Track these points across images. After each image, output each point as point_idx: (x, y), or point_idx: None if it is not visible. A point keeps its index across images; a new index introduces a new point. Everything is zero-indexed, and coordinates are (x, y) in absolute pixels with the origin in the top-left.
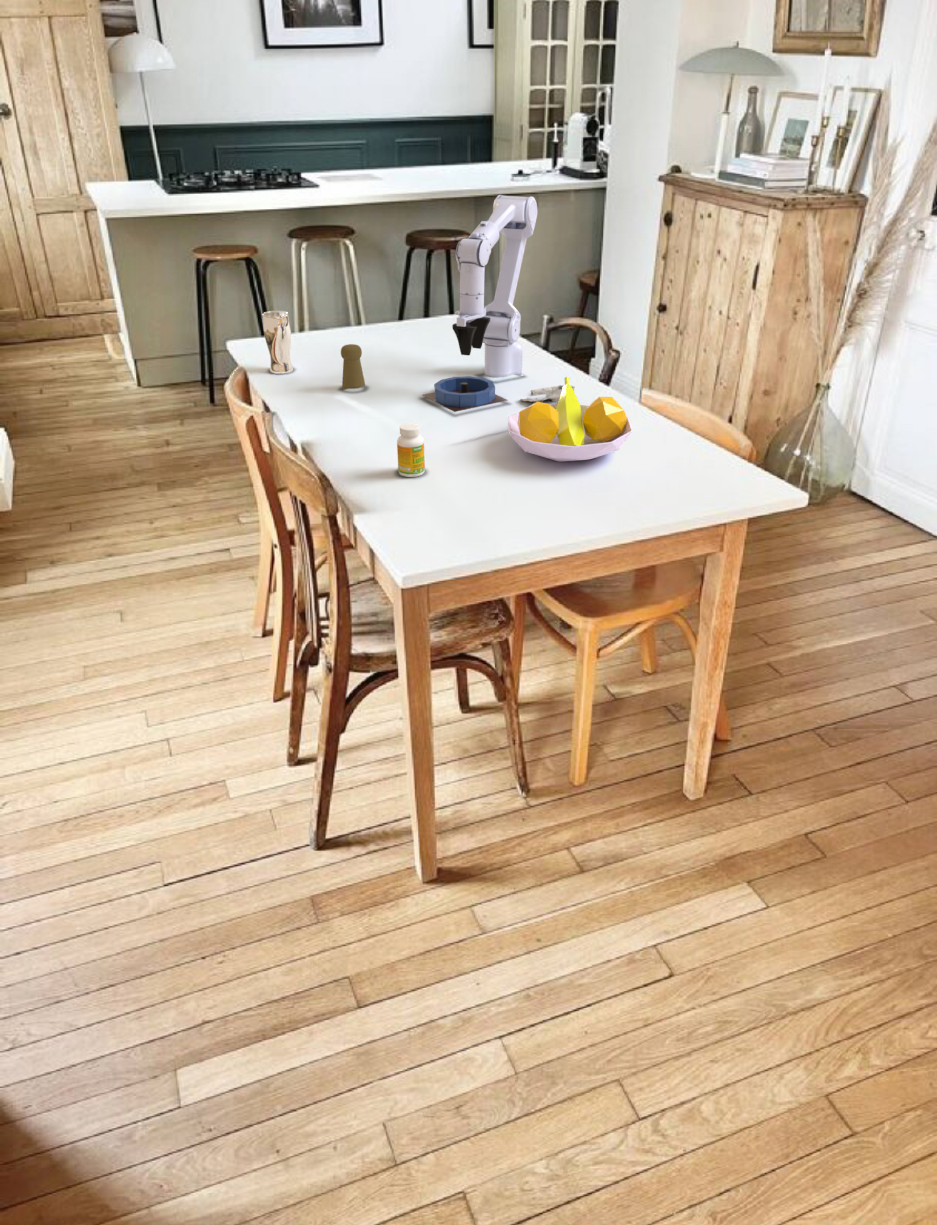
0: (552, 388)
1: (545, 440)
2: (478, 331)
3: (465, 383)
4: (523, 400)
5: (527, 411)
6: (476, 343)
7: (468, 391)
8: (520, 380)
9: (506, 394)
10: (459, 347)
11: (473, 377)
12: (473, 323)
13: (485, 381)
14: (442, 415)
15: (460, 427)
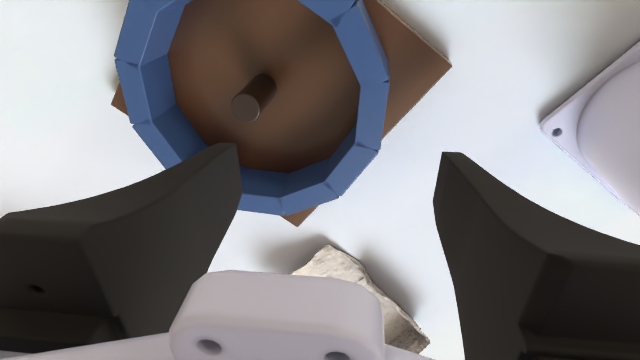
0: (412, 324)
1: None
2: (467, 273)
3: (245, 113)
4: (306, 265)
5: None
6: (442, 196)
7: (340, 77)
8: (582, 206)
9: (395, 195)
10: (193, 155)
11: (373, 107)
12: (499, 294)
13: (333, 170)
14: (98, 56)
15: (55, 146)
